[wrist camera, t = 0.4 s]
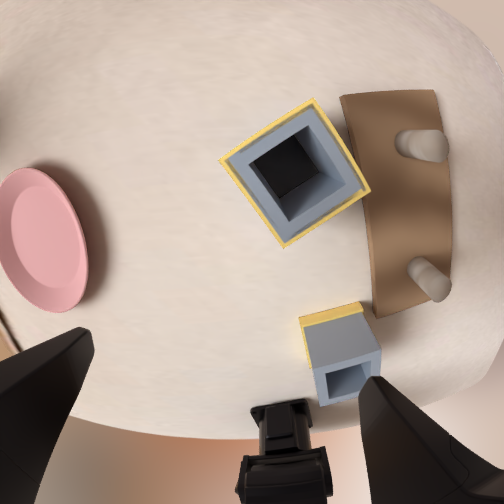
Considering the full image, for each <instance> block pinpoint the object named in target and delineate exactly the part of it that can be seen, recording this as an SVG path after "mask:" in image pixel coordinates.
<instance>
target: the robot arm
mask: <svg viewBox="0 0 504 504" xmlns="http://www.w3.org/2000/svg"><path fill="white" fill-rule="evenodd" d="M93 356H94V344H93V340H92V335H91V332H90V330H88V329H85V328H82V327H77V328H75V329H72V330H70V331H68V332H66V333H63V334H61V335H59V336H56V337H54V338H52V339H50V340H47V341H45V342H43V343H41V344H38V345H36V346H34V347H32V348H29V349H27V350H25V351H23V352H20V353H18V354H16V355H14V356H11V357H9V358H7V359H5V360H3V361H1V362H0V504H34V502H35V499H36V496H37V493H38V490H39V487H40V483H41V481H42V478H43V475H44V472H45V470H46V467H47V464H48V462H49V459H50V457H51V454H52V452H53V449H54V447H55V444H56V442H57V440H58V437H59V435H60V433H61V431H62V429H63V426H64V424H65V422H66V419H67V417H68V415H69V413H70V411H71V409H72V407H73V405H74V403H75V401H76V399H77V397H78V395H79V392H80V390H81V388H82V385H83V382H84V379H85V377H86V374H87V372H88V369H89V366H90V364H91V361H92V359H93ZM358 401H359V412H360V425H361V436H362V442H363V448H364V454H365V459H366V466H367V472H368V479H369V486H370V494H371V502H372V504H504V470H502V469H499V468H497V467H495V466H493V465H492V464H490V463H489V462H487V461H486V460H484V459H483V458H481V457H480V456H478V455H477V454H475V453H474V452H472V451H471V450H469V449H468V448H467V447H465V446H464V445H463V444H461V443H460V442H459V441H458V440H456V439H455V438H454V437H453V436H452V435H449V433H448V432H447V431H446V430H444V429H443V428H442V427H441V426H440V425H438V424H437V423H436V422H435V421H434V420H432V419H431V418H430V417H429V416H428V415H427V414H425V413H424V412H423V411H422V410H420V409H419V408H418V407H417V406H416V405H415V404H414V403H412V402H411V401H410V400H409V399H408V398H407V397H405V396H404V395H403V394H402V393H401V392H399V391H398V390H397V389H396V388H395V387H394V386H392V385H391V384H390V383H389V382H388V381H387V380H385V379H384V378H383V377H382V376H370V377H369V378H368V379H367V381H366V382H365V384H364V386H363V387H362V389H361V390H360V392H359V396H358ZM250 413H251V415H252V417H253V419H254V420H255V422H256V424H257V426H258V427H259V455H256V456H249V455H244V456H243V461H242V462H241V468H240V473H239V479H238V482H237V485H236V487H235V492H236V493H237V494H238V495H239V498H240V501H241V504H327V497H331V496H333V484H332V476H331V471H330V466H329V462H328V457H327V453H326V448H325V446H322V447H320V448H315V449H312V448H311V441H310V434H309V428H311V427H312V426H313V424H312V420H311V416H310V412H309V407H308V403H307V400H305V399H301V400H296V401H291V402H286V403H281V404H275V405H269V406H262V407H256V408H252V409H251V410H250Z"/></svg>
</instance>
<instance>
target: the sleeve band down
mask: <svg viewBox="0 0 504 504" xmlns="http://www.w3.org/2000/svg"><path fill="white" fill-rule="evenodd" d="M299 322H300V326H301V331H302V335H303V340H304V344H305V349H306V353H307V358H308V363H309V367H310V369H311V368H312V371H313V376H314V380H315V385H316V390H317V395H318V400H319V405H320V407H322V406H326V405H330V404H334V403H338V402H342V401H345V400H349V399H352V398H356V397H358V396H359V392H360V390H361V389H362V387H363V386H364V384H365V382H366V381H367V379H368V378H369V377H370V376H380V368H381V347H380V346H379V344H378V342H377V340H376V338H375V336H374V334H373V332H372V330H371V329H370V327H369V325H368V323H367V321H366V319H365V318H364V312H363V308H362V306H361V304H360V303H359V302H355V303H352V304H348V305H345V306H341V307H338V308H334V309H330V310H327V311H323V312H319V313H315V314H311V315H307V316H303V317H299Z"/></svg>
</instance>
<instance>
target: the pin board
mask: <svg viewBox="0 0 504 504" xmlns="http://www.w3.org/2000/svg"><path fill="white" fill-rule="evenodd" d="M339 98H340V101H341V105H342V108H343V112H344V116H345V120H346V123H347V127H348V131H349V136H350V140H351V144H352V148H353V153H354V158H355V162H356V164H357V166H358V168H359V169H360V171H361V173H362V175H363V176H364V178H365V180H366V182H367V184H368V186H369V188H370V189H371V192H369V193H368V194H366V195H365V196H363V197H362V201H363V207H364V214H365V221H366V229H367V237H368V246H369V256H370V267H371V280H372V297H373V313H374V315H375V317H376V318H377V319H379V318H382V317H385V316H388V315H391V314H394V313H397V312H399V311H402V310H405V309H408V308H411V307H413V306H416V305H419V304H421V303H424V302H427V301H429V300H433V301H434V302H441V301H443V300H444V299H445V298H446V297H447V296H448V295H449V293H450V291H451V287H452V283H451V280H450V268H451V251H452V205H451V188H450V176H449V167H448V158H447V156H448V153H449V143H448V140H447V138H446V136H445V135H444V133H443V127H442V122H441V117H440V113H439V108H438V104H437V100H436V96H435V92H434V90H394V91H378V92H366V93H356V94H348V95H343V96H341V97H339Z"/></svg>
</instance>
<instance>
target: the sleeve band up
mask: <svg viewBox="0 0 504 504" xmlns="http://www.w3.org/2000/svg"><path fill="white" fill-rule="evenodd" d="M293 134H294V135H295V137H296V138H297V140H298V141H299V143H300V144H301V146H302V147H303V148H304V150H305V151H306V153H307V154H308V156H309V157H310V159H311V160H312V162H313V164H314V165H315V167H316V168H317V170H318V171H319V173H318V174H316V175H314V176H313V177H311V178H310V179H308V180H307V181H305V182H304V183H302V184H301V185H299V186H298V187H296V188H295V189H293V190H292V191H290V192H289V193H287V194H286V195H284V196H283V197H281V198H280V199H279V198H278V197H277V195H276V194H275V192H274V191H273V189H272V188H271V187H270V185H269V184H268V182H267V181H266V180H265V178H264V177H263V175H262V174H261V173H260V171H259V170H258V168H257V167H256V166H255V164H254V163H253V161H254V160H256V159H257V158H258V157H260V156H261V155H263V154H264V153H266V152H267V151H269V150H270V149H272V148H273V147H275V146H276V145H278V144H279V143H281V142H282V141H284V140H285V139H287V138H289V137H290V136H292V135H293ZM218 161H219V162H220V163H221V165H222V166H223V167H224V169H225V170H226V171H227V173H228V174H229V175H230V177H231V178H232V179H233V181H234V182H235V183H236V185H237V186H238V187H239V189H240V190H241V191H242V193H243V194H244V195H245V197H246V198H247V199H248V201H249V202H250V204H251V205H252V206H253V208H254V209H255V210H256V212H257V213H258V214H259V216H260V217H261V219H262V220H263V221H264V223H265V224H266V225H267V227H268V228H269V230H270V231H271V232H272V234H273V235H274V237H275V238H276V239H277V241H278V242H279V244H280V245H281V246H282V248H283V249H284V248H285V247H287V246H289V245H290V244H292V243H293V242H295V241H296V240H298V239H299V238H301V237H302V236H304V235H306V234H307V233H309V232H310V231H312V230H313V229H315V228H316V227H318V226H319V225H321V224H322V223H324V222H325V221H327V220H329V219H330V218H332V217H333V216H335V215H336V214H338V213H339V212H341V211H342V210H344V209H345V208H347V207H348V206H350V205H351V204H353V203H354V202H356V201H357V200H359V199H360V198H362V197H363V196H365V195H366V194H368V193H369V192H371V189H370V188H369V186H368V184H367V182H366V180H365V178H364V176H363V175H362V173H361V171H360V169H359V168H358V166H357V164H356V162H355V161H354V159H353V157H352V155H351V154H350V152H349V150H348V149H347V147H346V146H345V144H344V142H343V141H342V139H341V138H340V136H339V134H338V133H337V131H336V130H335V128H334V127H333V125H332V124H331V122H330V121H329V119H328V118H327V116H326V115H325V113H324V112H323V110H322V109H321V107H320V106H319V105H318V103H317V102H316V100H315V99H314V98H311V99H310V100H308V101H306V102H305V103H303V104H301V105H300V106H298V107H296V108H295V109H293V110H291V111H290V112H288V113H287V114H285V115H283V116H282V117H280V118H279V119H277V120H275V121H274V122H272V123H271V124H269V125H268V126H266V127H265V128H263V129H262V130H260V131H259V132H257V133H256V134H254V135H253V136H251V137H250V138H248V139H247V140H245V141H244V142H243V143H241V144H240V145H238V146H237V147H236V148H234V149H233V150H231V151H230V152H229V153H227V154H226V155H224V156H223V157H222V158H220V159H219V160H218Z"/></svg>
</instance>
